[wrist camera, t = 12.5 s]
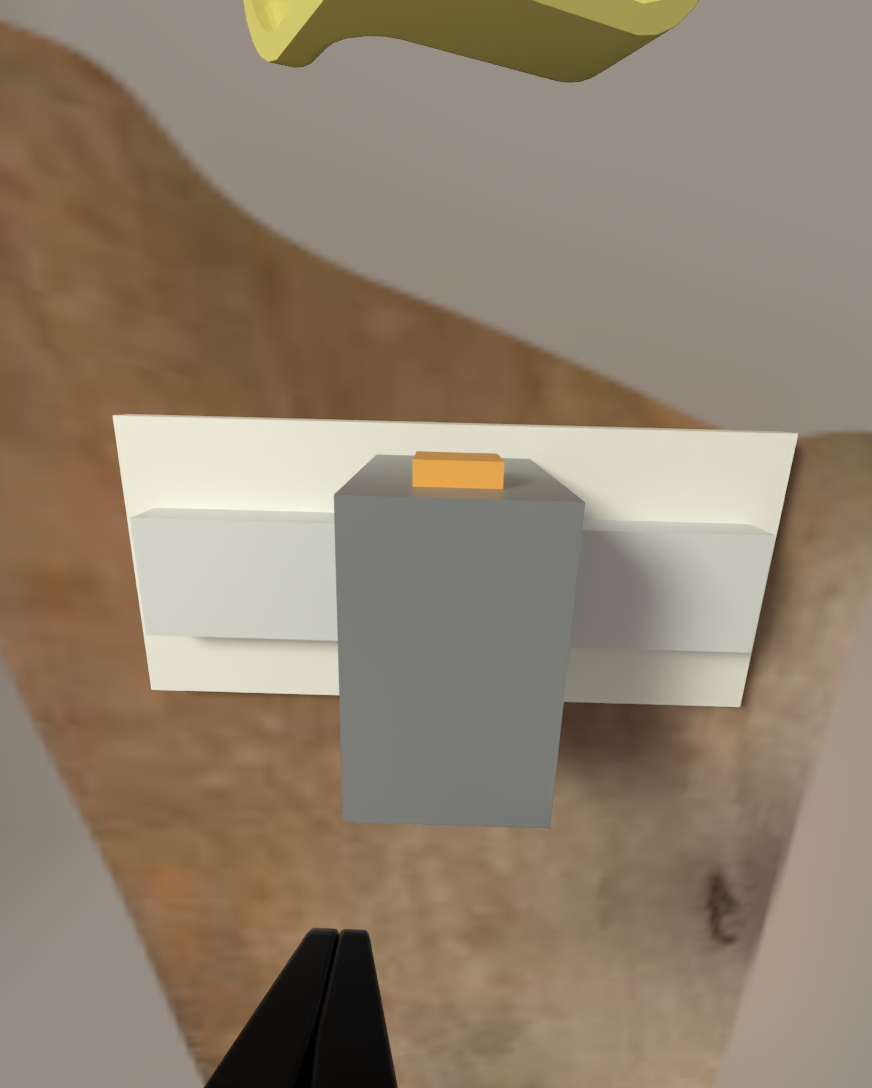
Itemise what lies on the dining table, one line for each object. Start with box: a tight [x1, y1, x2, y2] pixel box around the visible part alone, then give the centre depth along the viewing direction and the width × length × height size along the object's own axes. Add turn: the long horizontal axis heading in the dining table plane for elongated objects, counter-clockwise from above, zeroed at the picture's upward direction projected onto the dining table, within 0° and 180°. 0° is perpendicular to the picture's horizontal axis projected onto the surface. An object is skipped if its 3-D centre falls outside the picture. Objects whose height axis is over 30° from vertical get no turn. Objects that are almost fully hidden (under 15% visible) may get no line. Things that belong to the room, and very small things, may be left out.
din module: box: [334, 451, 585, 829], centre depth 15 cm, size 9×5×7 cm, turn 178°
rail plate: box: [113, 414, 798, 707], centre depth 18 cm, size 10×22×2 cm, turn 88°
